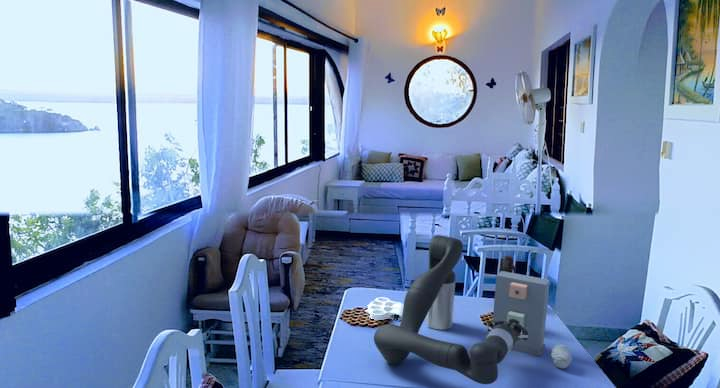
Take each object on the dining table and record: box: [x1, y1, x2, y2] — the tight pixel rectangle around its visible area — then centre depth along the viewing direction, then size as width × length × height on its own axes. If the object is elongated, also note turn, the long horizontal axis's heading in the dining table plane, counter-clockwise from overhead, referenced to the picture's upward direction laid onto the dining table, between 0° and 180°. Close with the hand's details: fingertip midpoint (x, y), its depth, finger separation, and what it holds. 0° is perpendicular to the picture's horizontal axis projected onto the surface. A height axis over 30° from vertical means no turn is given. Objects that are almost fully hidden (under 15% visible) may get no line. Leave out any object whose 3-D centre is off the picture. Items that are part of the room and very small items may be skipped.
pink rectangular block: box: [509, 282, 528, 300], centre depth 169 cm, size 3×5×4 cm
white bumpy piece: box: [364, 296, 404, 322], centre depth 201 cm, size 3×18×15 cm
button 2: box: [507, 311, 525, 327], centre depth 171 cm, size 3×5×4 cm
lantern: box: [498, 233, 518, 273], centre depth 211 cm, size 8×8×30 cm
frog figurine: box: [550, 343, 573, 369], centre depth 163 cm, size 6×7×7 cm
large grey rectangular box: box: [492, 270, 551, 358], centre depth 175 cm, size 8×17×24 cm, turn 60°
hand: (514, 322), depth 169 cm, fingers closed
